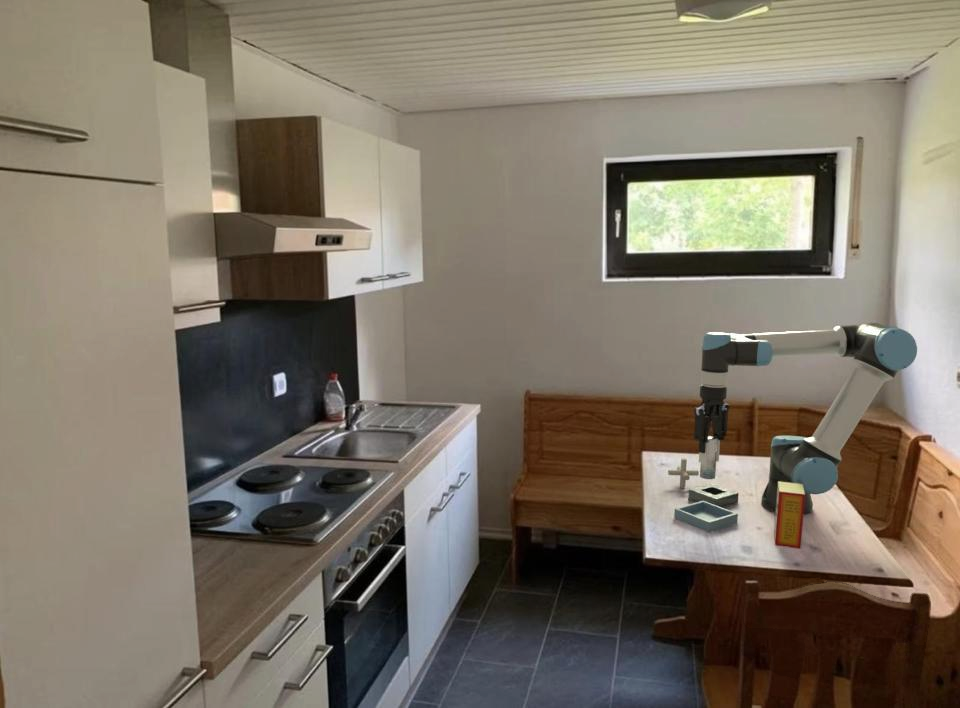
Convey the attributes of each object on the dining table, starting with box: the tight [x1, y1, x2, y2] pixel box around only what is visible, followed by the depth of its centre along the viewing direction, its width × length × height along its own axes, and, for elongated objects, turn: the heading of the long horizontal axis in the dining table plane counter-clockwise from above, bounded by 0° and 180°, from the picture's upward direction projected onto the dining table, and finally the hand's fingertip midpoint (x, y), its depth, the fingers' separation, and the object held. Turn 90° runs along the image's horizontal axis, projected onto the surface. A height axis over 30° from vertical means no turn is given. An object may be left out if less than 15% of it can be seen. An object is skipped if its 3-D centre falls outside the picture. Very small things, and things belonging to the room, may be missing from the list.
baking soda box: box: [773, 481, 805, 550], centre depth 204 cm, size 10×6×16 cm
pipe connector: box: [667, 457, 700, 489], centre depth 249 cm, size 10×10×10 cm
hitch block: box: [687, 483, 740, 508], centre depth 236 cm, size 11×11×4 cm
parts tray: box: [673, 501, 739, 534], centre depth 219 cm, size 13×13×3 cm
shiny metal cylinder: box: [699, 435, 718, 480], centre depth 216 cm, size 4×4×12 cm
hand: (708, 461), depth 216 cm, fingers closed on shiny metal cylinder, 4 cm apart
